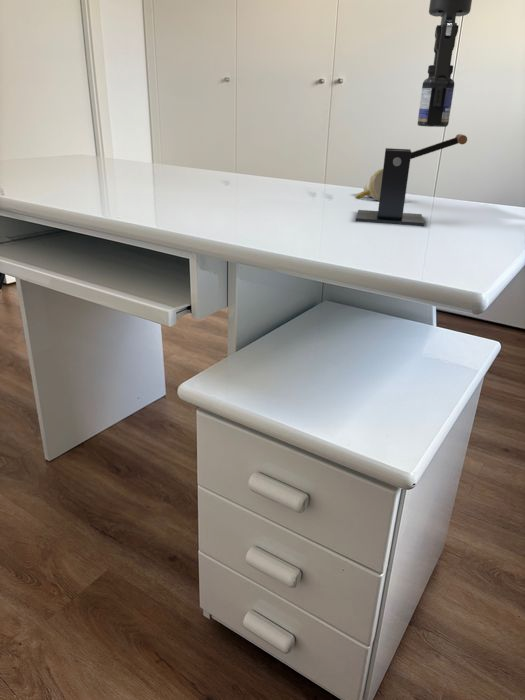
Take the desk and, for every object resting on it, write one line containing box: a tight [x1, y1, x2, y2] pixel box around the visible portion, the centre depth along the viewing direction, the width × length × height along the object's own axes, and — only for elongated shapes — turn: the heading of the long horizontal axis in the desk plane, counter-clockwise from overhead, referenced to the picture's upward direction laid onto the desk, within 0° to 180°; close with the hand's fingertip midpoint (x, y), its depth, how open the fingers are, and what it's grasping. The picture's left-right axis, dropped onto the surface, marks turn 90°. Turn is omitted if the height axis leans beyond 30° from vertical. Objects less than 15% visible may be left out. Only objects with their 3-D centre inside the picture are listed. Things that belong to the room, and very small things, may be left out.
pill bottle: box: [417, 64, 455, 128], centre depth 107 cm, size 6×6×11 cm
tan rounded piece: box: [354, 168, 383, 202], centre depth 123 cm, size 8×10×10 cm
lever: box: [410, 133, 468, 160], centre depth 94 cm, size 13×5×2 cm, turn 79°
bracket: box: [355, 147, 425, 227], centre depth 97 cm, size 12×9×13 cm
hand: (432, 124), depth 109 cm, fingers closed on pill bottle, 6 cm apart
